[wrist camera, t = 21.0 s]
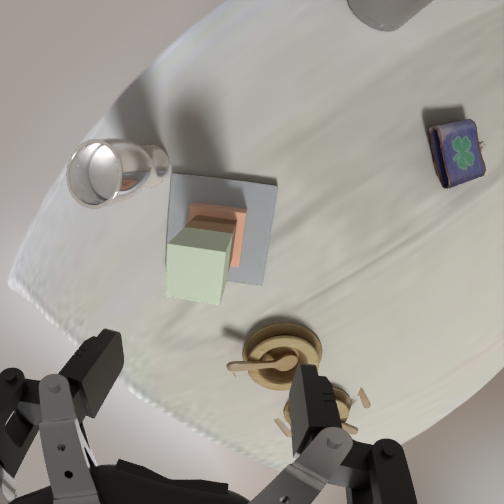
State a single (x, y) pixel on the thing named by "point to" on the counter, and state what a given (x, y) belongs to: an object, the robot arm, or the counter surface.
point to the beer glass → (113, 171)
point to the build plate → (233, 198)
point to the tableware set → (287, 364)
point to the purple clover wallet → (457, 152)
